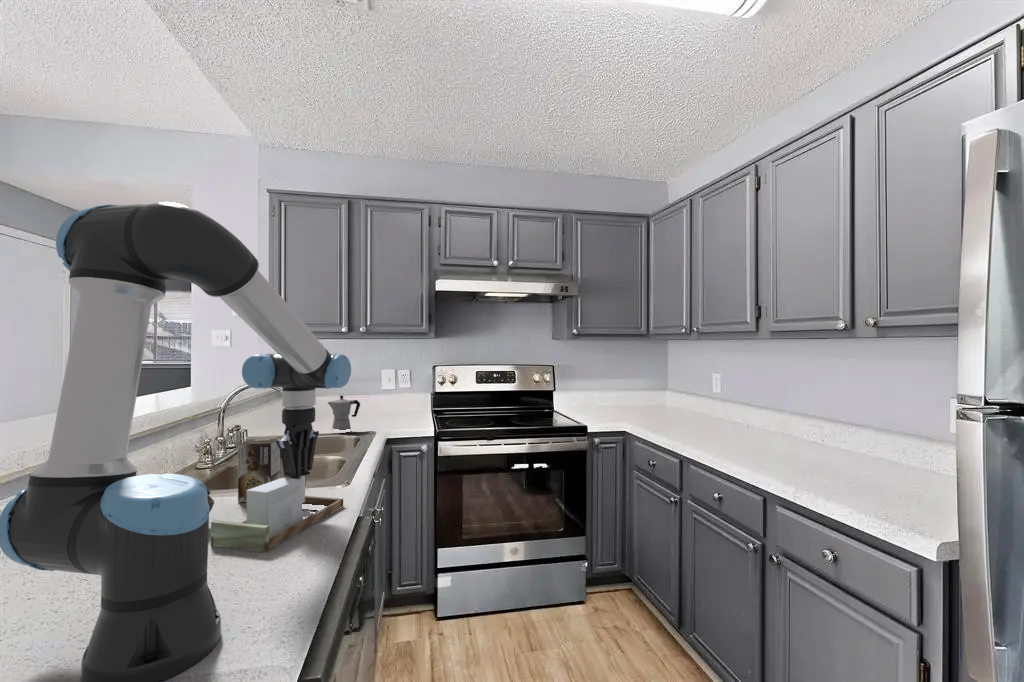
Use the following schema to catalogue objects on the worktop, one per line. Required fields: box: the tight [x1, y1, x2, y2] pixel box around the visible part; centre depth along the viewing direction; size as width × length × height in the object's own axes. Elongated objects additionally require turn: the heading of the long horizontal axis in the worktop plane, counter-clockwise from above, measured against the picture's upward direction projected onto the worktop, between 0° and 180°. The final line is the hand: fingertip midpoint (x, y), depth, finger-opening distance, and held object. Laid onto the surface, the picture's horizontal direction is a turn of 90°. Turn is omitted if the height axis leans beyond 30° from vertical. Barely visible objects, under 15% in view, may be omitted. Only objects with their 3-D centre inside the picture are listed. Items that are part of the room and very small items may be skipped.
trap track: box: [210, 495, 344, 553], centre depth 110 cm, size 28×13×5 cm, turn 167°
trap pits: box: [302, 510, 318, 517], centre depth 119 cm, size 8×12×1 cm, turn 77°
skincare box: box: [246, 477, 304, 538], centre depth 107 cm, size 10×6×10 cm, turn 162°
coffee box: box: [237, 438, 282, 503], centre depth 128 cm, size 9×6×16 cm
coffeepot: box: [327, 395, 361, 430], centre depth 229 cm, size 15×9×18 cm, turn 100°
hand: (298, 502), depth 115 cm, fingers closed
